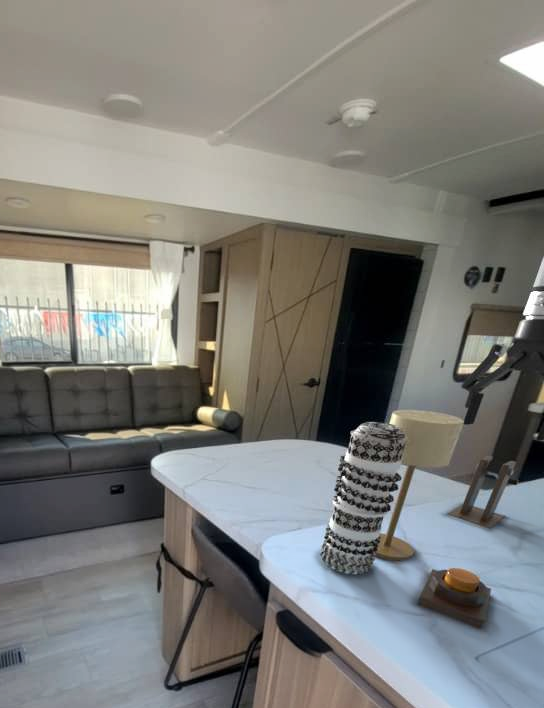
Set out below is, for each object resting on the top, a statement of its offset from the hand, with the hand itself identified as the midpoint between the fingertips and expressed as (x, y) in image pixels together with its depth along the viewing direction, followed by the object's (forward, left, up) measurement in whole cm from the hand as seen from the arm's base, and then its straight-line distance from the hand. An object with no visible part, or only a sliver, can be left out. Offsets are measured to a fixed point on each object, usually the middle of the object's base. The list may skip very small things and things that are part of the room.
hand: (502, 431), depth 84 cm
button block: (+15, +39, -19) cm, 46 cm away
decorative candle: (+30, +33, -19) cm, 49 cm away
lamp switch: (-2, 0, -10) cm, 10 cm away
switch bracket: (0, +3, -19) cm, 19 cm away
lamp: (+22, +25, -19) cm, 39 cm away
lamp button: (+15, +39, -16) cm, 45 cm away
